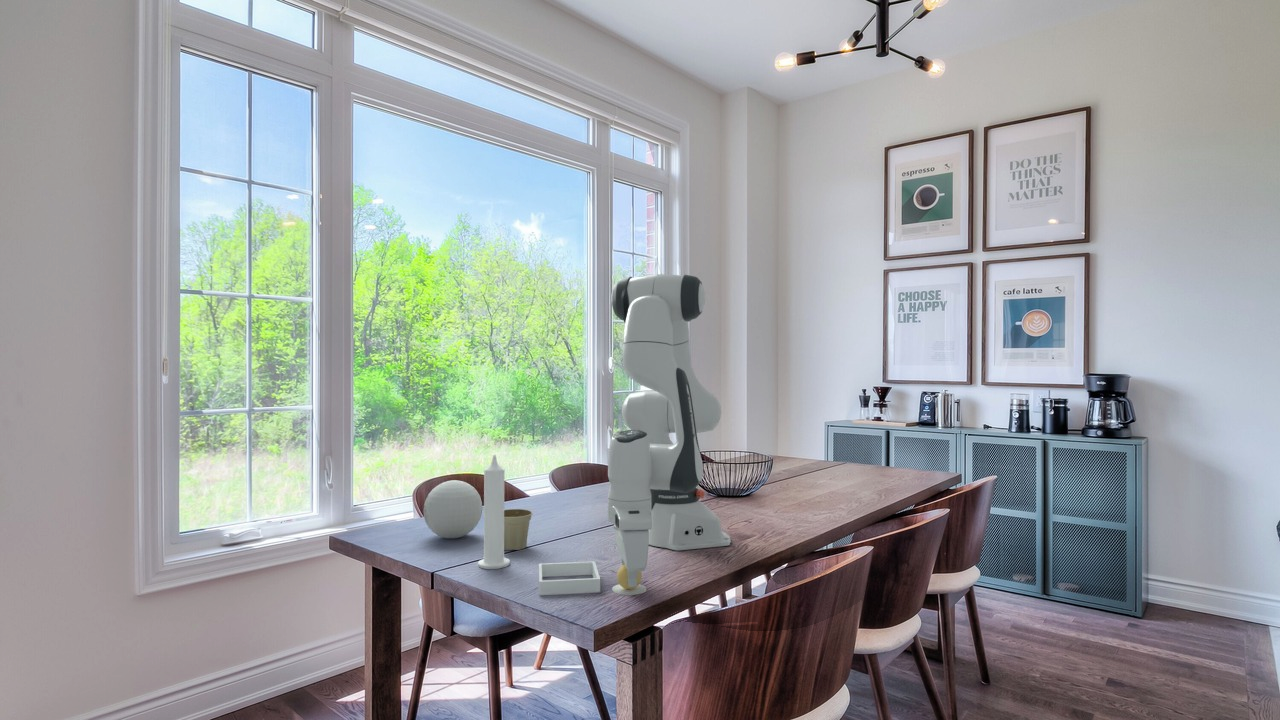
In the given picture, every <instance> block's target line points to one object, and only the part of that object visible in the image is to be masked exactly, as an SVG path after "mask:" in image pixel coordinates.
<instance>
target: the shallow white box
mask: <svg viewBox="0 0 1280 720" xmlns="http://www.w3.org/2000/svg"><path fill="white" fill-rule="evenodd" d="M587 575H588V576H590V575H592V577H591V578H573V579H572V578H569V579H567V578H566V579H548V580H545V579H544V580H543V578H548V577H569V576H570V577H571V576H572V577H573V576H587ZM538 592H539V594H538V595H539V596H549V595H551V596H553V595H571V594H572V595H574V594H575V595H576V594H589V593H590V594H591V593H601V576H600V574H599V571H598V567H597V564H596V561H595V560H594V561H593V560H591V561H575V562H574V561H571V562H550V563H549V562H547V563H538Z"/></svg>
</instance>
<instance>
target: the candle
mask: <svg viewBox="0 0 1280 720" xmlns="http://www.w3.org/2000/svg"><path fill="white" fill-rule="evenodd" d="M491 459H492V460H491V462H490V464H489V465H488V466H487V467H485V469H484V470H483V472H484V473H483V474H484V475H483V479H484V481H483V482H484V484H483V486H484V487H483V492H484V494H483V559H480V560H479V561H478V562H477V566H478V567H479V568H480V569H484V570H498V569H500V570H501V569H504V568H506V567H508V566H510V563H511V561H510V559H508V557H507V558H506V557H505V550H504V510H505V468H504V467H502V466H501V465H500V464H499V463H498V460H497V456H496V454H493V455H492V458H491Z"/></svg>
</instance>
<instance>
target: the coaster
mask: <svg viewBox="0 0 1280 720" xmlns="http://www.w3.org/2000/svg"><path fill="white" fill-rule="evenodd" d="M611 591H612V592H614V593H615V594H618V595H622V596H623V595H624V596H625V595H626V596H634V595H641V594H643V593H646V592H647V587H646V585H643V584H641V583H640V584H639V585H638V586H637V587H636V588H634V589H625V588H623V587H622V586H621V585H620V584H619V583H618V584H615V585H614V586H613V587H612V588H611Z"/></svg>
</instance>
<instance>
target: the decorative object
mask: <svg viewBox="0 0 1280 720" xmlns="http://www.w3.org/2000/svg"><path fill="white" fill-rule="evenodd" d="M482 515H483V501H482V499H481V495H480V494H479V492H478V491H477V489H476V488H475V487H474V486H472V485H471V484H469V483H468V482H465V481H462V480H456V479H454V480H453V479H452V480H447V481H443V482H442V483H439V484H438V485H436V486H435V487H434V488H432V490H430V492H429V493H428V495H427V497H426V498H425V501H424V504H423V518H424V522H425V524H426V526H427V527H428V529H430V530H431V532H432V533H434V534H435V535H437V536H438V537H441V538H444V539H457V538H462V537H464V536H466V535H468V534H469V533H471V532H472V531H473V530H474V529H475V528H476V527H477V525H478V524H479V522H480V521H481V517H482Z"/></svg>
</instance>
